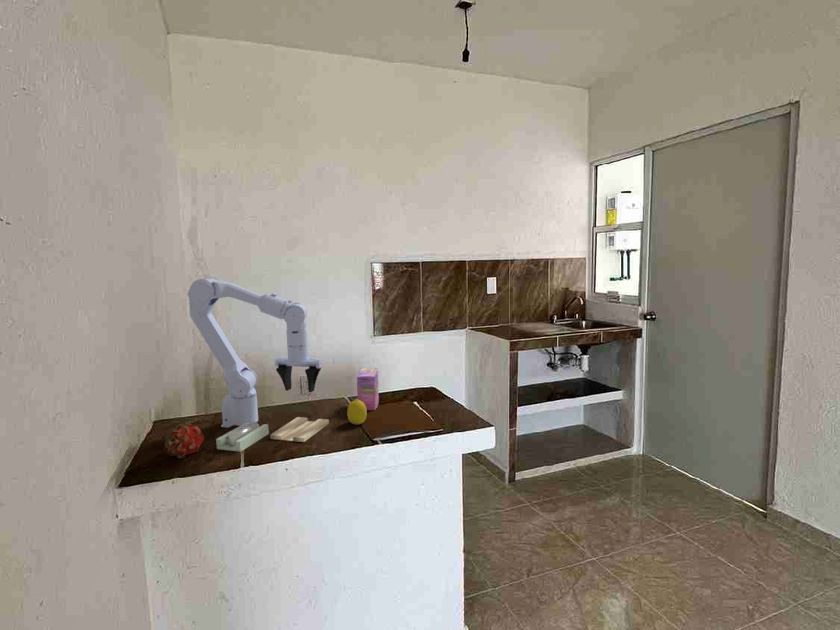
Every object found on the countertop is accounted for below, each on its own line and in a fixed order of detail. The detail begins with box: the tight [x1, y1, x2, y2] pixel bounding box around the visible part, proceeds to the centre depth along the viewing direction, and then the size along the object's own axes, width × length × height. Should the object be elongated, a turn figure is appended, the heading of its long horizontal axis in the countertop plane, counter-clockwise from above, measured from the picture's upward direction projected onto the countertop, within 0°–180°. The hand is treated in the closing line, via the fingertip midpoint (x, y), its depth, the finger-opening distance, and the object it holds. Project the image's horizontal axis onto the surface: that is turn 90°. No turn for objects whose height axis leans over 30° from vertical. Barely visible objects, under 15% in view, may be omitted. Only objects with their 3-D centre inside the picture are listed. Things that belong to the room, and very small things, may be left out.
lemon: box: [347, 398, 368, 426], centre depth 135 cm, size 6×6×8 cm
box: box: [356, 367, 380, 411], centre depth 150 cm, size 10×6×12 cm, turn 179°
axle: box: [225, 421, 260, 447], centre depth 123 cm, size 10×3×3 cm, turn 164°
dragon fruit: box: [163, 422, 205, 459], centre depth 118 cm, size 8×8×12 cm
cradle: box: [215, 423, 270, 453], centre depth 123 cm, size 7×12×4 cm, turn 164°
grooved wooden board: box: [269, 416, 330, 443], centre depth 130 cm, size 10×14×2 cm
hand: (299, 390), depth 139 cm, fingers open, 7 cm apart
